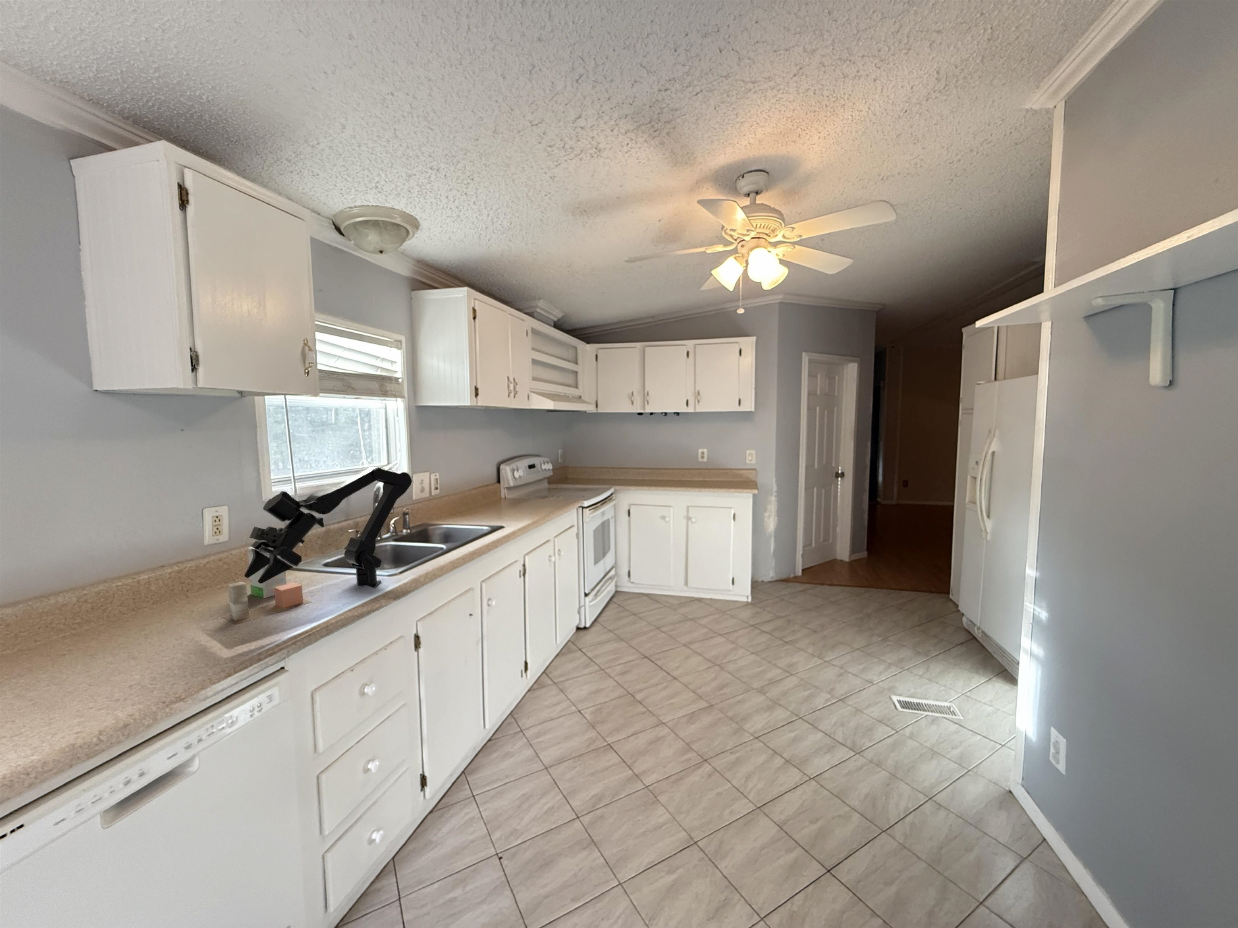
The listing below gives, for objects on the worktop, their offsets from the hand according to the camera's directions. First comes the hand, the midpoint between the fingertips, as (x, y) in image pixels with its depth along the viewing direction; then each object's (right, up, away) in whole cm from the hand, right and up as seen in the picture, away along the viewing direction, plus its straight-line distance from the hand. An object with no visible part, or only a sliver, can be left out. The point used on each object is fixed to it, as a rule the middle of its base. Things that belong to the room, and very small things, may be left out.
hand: (252, 579), depth 130 cm
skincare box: (-8, -9, +17) cm, 21 cm away
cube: (+5, -8, +7) cm, 12 cm away
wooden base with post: (+2, -10, +3) cm, 11 cm away
